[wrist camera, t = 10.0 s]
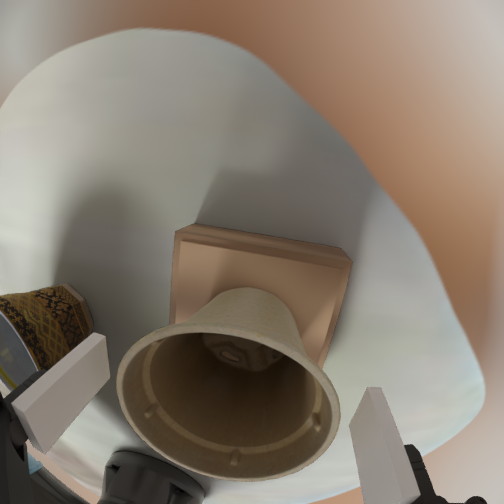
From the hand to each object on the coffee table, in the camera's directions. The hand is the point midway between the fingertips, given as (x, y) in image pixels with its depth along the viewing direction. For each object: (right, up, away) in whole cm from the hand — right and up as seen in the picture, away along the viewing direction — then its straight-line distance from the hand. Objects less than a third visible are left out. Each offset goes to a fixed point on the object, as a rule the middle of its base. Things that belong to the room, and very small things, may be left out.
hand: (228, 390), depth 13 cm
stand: (+1, +2, +10) cm, 10 cm away
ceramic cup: (-17, -1, +13) cm, 22 cm away
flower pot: (+1, +2, +6) cm, 6 cm away
